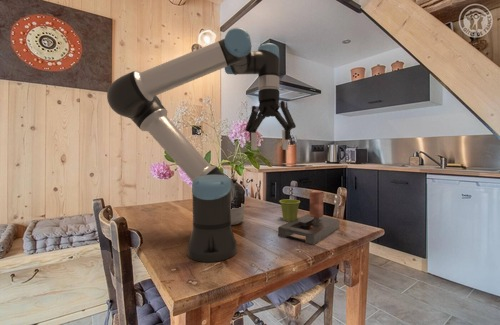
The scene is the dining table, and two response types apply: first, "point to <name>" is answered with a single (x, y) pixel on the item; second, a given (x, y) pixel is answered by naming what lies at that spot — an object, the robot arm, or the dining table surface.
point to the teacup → (237, 215)
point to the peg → (316, 206)
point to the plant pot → (289, 209)
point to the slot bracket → (312, 236)
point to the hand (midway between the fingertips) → (268, 150)
